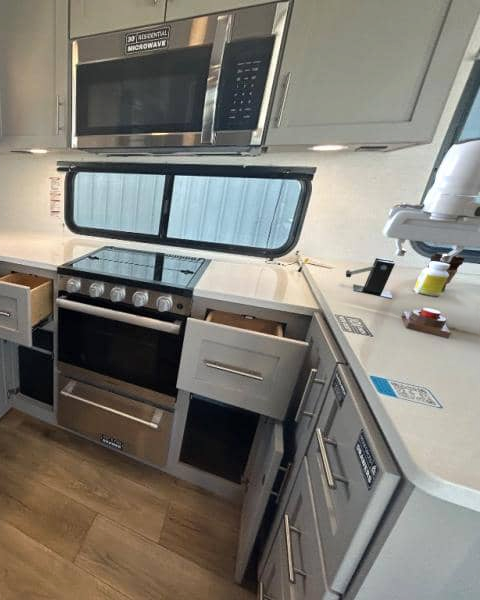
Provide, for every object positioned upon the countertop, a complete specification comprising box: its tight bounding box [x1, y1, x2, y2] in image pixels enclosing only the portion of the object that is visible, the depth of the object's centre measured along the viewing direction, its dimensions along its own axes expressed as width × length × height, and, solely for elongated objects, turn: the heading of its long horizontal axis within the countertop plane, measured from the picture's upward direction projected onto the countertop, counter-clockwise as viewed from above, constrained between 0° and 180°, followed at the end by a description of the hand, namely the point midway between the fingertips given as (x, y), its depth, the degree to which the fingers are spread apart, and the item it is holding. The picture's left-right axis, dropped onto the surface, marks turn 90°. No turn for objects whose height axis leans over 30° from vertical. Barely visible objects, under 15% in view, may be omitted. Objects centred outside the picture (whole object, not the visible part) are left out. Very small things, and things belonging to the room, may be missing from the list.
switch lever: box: [345, 261, 388, 278], centre depth 110 cm, size 11×5×2 cm
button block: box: [400, 309, 452, 339], centre depth 88 cm, size 10×8×4 cm
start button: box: [420, 307, 442, 319], centre depth 87 cm, size 4×4×2 cm
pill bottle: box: [412, 261, 450, 298], centre depth 110 cm, size 6×6×12 cm
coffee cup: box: [427, 252, 465, 292], centre depth 118 cm, size 9×8×13 cm
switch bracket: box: [352, 257, 396, 300], centre depth 109 cm, size 10×8×12 cm
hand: (421, 258), depth 90 cm, fingers open, 8 cm apart
